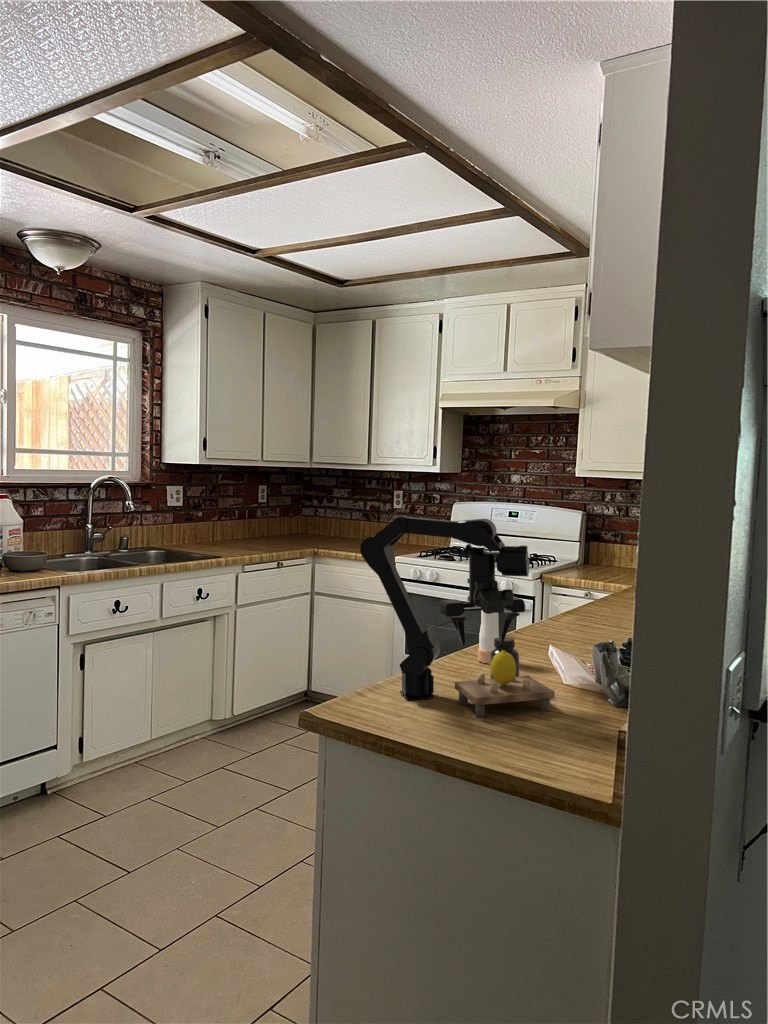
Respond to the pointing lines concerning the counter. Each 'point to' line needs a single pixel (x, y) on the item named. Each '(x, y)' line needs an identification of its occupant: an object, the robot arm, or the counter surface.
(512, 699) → the peg shelf
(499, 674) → the lemon
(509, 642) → the supplement bottle
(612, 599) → the counter surface
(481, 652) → the pepper shaker
